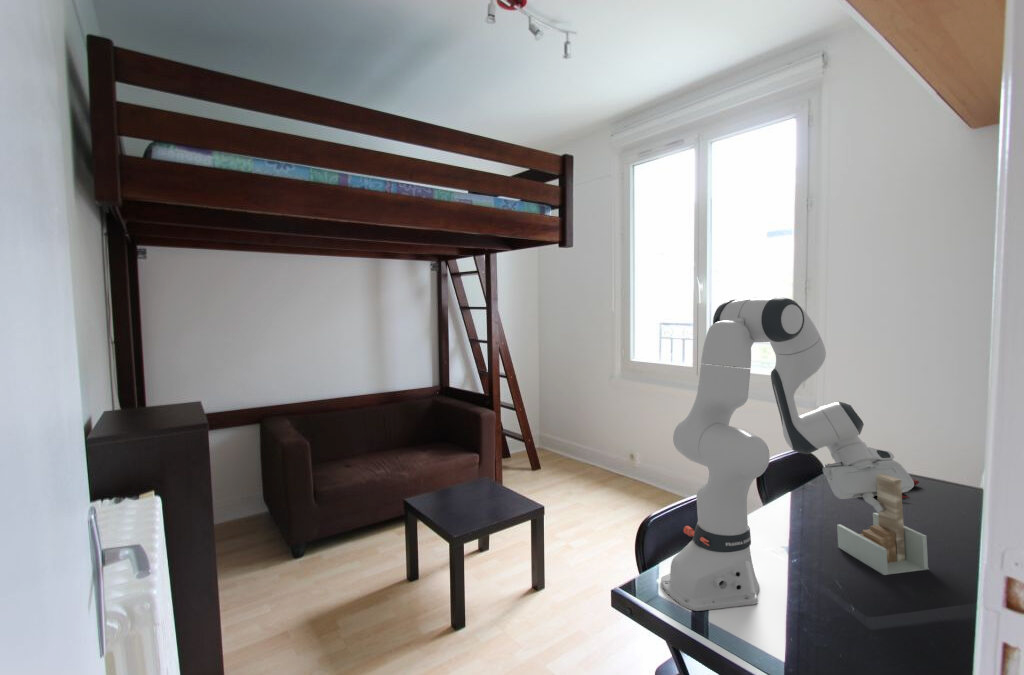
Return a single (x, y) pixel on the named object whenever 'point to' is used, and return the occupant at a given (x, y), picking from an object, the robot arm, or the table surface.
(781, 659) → the table surface
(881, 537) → the offcut stack
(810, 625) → the table surface
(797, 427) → the robot arm
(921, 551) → the offcut rack
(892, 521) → the birch board
